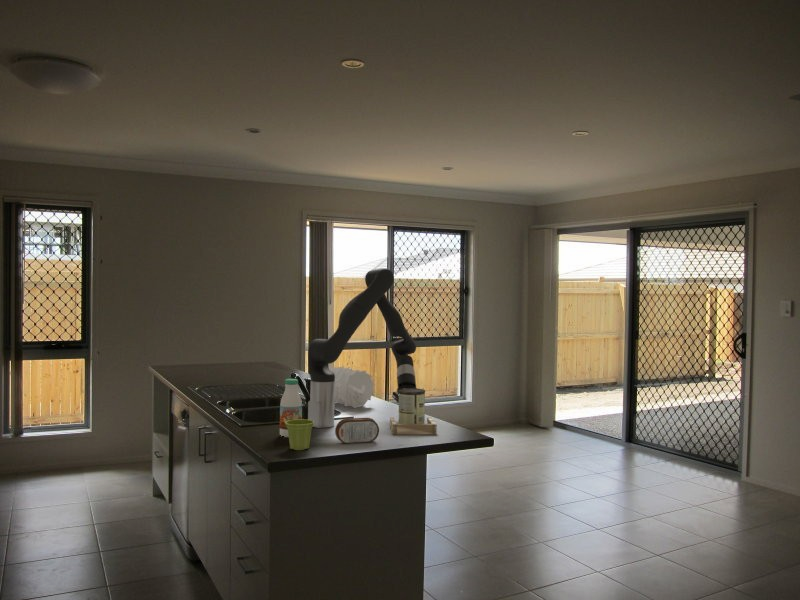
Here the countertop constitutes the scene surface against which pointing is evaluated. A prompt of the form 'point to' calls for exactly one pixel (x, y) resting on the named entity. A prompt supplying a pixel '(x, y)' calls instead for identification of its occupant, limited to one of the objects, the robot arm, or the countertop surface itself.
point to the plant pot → (299, 433)
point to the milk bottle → (290, 405)
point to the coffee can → (411, 406)
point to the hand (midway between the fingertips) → (409, 412)
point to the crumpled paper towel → (352, 386)
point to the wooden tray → (413, 427)
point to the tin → (357, 430)
